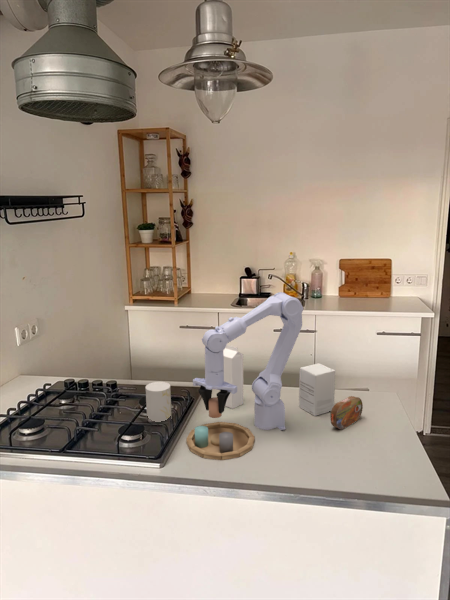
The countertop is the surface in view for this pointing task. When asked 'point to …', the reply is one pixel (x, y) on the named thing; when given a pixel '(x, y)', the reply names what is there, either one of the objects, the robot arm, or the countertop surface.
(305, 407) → the supplement box
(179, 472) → the countertop surface
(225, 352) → the milk
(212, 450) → the tray
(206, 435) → the bead teal
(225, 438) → the bead charcoal
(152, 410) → the white cylinder
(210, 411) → the bead terracotta
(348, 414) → the tin
